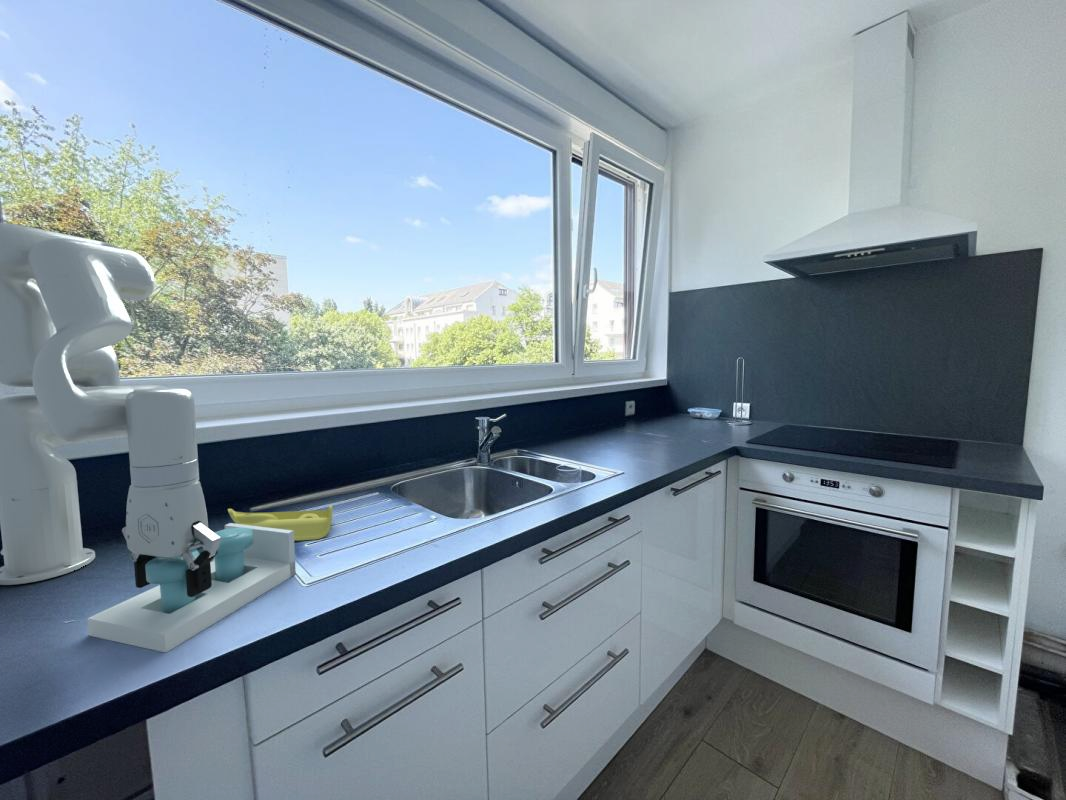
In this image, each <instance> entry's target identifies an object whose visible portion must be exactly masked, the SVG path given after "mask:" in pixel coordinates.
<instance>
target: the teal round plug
mask: <svg viewBox="0 0 1066 800" xmlns="http://www.w3.org/2000/svg"><path fill="white" fill-rule="evenodd" d="M192 554H193V556H194V557H195V559H196V558H197V557H198V556H199V552H198V550H197V551H195V552H193V553H192ZM145 569H146V581H147V582H149V583H151V584H154V585H160V594H161V607H162V613H167V614H171V613H172V612H174V611H176V610H178V609H180V608H182V607H184V606H186V605H188V604H189V603H191V602H193V601H195V600H196V596H194V597H188V596H187V585H186V570H188V569H190V568H189V567H188V565H187V564H186V562H185V561H184V559H183V558H182V556H180V557H178V558H174V559H170V558H162V557H156V558H154V559H152V560H150V561H149V562H148V563H147V564H146V565H145Z"/></svg>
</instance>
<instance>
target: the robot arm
mask: <svg viewBox="0 0 1066 800" xmlns="http://www.w3.org/2000/svg"><path fill="white" fill-rule="evenodd" d="M34 281H35V282H36V283H35V282H34ZM154 288H155V275H154V272H153V270H152V268H151V265H150V264H149V263H148V261H147V260H146V259H145V258H144V257H143V256H142V255H140V254H139V253H138V252H136V251H132V250H130V249H127V248H122V247H121V246H117V245H115V244H111V243H108V242H105V241H100V240H95V239H91V238H87V237H81V236H76V235H71V234H66V233H60V232H55V231H51V230H46V229H42V228H37V227H31V226H26V225H21V224H15V223H14V224H13V223H7V222H0V384H1V385H5V386H8V387H16V388H33V391H34V394H24V395H13V396H8V397H3V398H0V532H1V533H0V534H1V542H2V548H1V550H0V555H1V556H3V562H4V565H2V566H0V586H12V585H13V586H15V585H23V584H29V583H36V582H40V581H45V580H49V579H52V578H57V577H59V576H63V575H66V574H69V573H72V572H74V570H75V571H77V570H79V569H82V568H83V566H84V567H86V566H87V565H89V564H90V563H92V562H93V561H94V560H95V559H96V551H95V550H94V549H92V548H87V547H86V548H85V547H83V536H82V535H83V534H82V524H81V513H80V502H79V493H78V492H79V491H78V479H77V472H76V468H75V467H74V464H72V463H71V462H70V461H69V459H67V458H66V457H64V456H62V455H61V454H59V453H58V452H57V451H56V450H55V448H57V447H63V446H68V445H75V444H77V445H78V444H83V443H85V444H86V443H91V442H98V441H105V440H109V439H115V438H124V437H127V444H128V446H127V447H128V457H129V471H130V472H129V473H130V483H131V484H130V485H129V488H128V494H127V500H126V513H125V514H126V516H125V526H124V527H123V528H122V529H121V532H122V534H123V536H124V539H125V541H126V544H125V546H126V548H127V549H128V550H129V551H130V553H131V554H130V560H131V561H132V562H133V568H134V580H135V581H134V582H135V587H136V588H138V589H141V588H144V587H146V586H148V585H151V584H152V583H149V582H147V581H146V569H145V565H146V564H147V563H148V562H149V561H150V560H152V559H154V558H156V557H162V558H170V559H174V558H178V557H180V556H182V558H183V559H184V561H185V562H186V564H187V565H188V567H189V568H190V569H188V570H186V585H187V596H188V597H194V596H196V595H198V594H199V593H201V592H203V591H205V590H207V589H209V588H210V587H211V586H212V581H211V565H210V563H211V562H213V560H215V556H216V555H217V553H218V548H219V545H220V543H221V538H220V537H219V536H218V535H217V534H215V533H214V532H215V531H212V530H211V529H210V528H209V522H208V512H207V507H206V501H205V500H206V499H205V495H204V492H203V487H202V483H201V481H200V469H199V456H198V455H199V454H198V453H199V452H198V440H197V439H198V438H197V423H196V409H195V408H196V407H195V398H194V395H193V393H192V392H191V391H190V390H188V389H185V388H181V387H180V388H179V387H166V386H162V385H159V384H158V385H157V384H139V385H138V384H135V385H134V384H133V385H132V384H131V385H124V384H122V385H121V377H120V366H119V360H118V356H117V353H116V351H115V349H114V347H113V345H115V344H118V343H119V342H121V341H123V340H125V339H126V338H127V337H128V336H129V335H130V334H131V332H132V330H133V322H132V320H131V318H130V316H129V313H128V311H127V309H126V306H125V304H124V302H123V300H126V301H133V302H137V301H138V302H140V301H143V300H146V299H148V298H149V297H150V296H151V295H152V293H153V291H154ZM77 386H78V387H77ZM197 550H198V552H199V556H198V557H197V558H196V559H195V557H194V556H193V554H192V553H193V552H195V551H197ZM85 565H86V566H85ZM81 567H82V568H81Z"/></svg>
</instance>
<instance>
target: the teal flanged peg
mask: <svg viewBox="0 0 1066 800" xmlns="http://www.w3.org/2000/svg"><path fill="white" fill-rule="evenodd" d="M213 532H214V533H215V534H217V535H218V536H219V537H220V538H221V543H220V545H219V548H218V553H217V555H216V556H215V557H214V560H215V573H216V581H220V582H226V583H229V582H231V581H233V580H235V579H237V578H239V577H240V576H242V575H244V574H245V568H244V549H246V548H248V547H250V546H251V545H252V544H253V534H252V529H250V528H243V527H240V528H230V529H225V528H224V529H220V530H218V531H213Z"/></svg>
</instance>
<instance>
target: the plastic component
mask: <svg viewBox="0 0 1066 800" xmlns="http://www.w3.org/2000/svg"><path fill="white" fill-rule="evenodd" d="M333 511H334V507H333V505H332V504H329V506H328V509H318V510H317V509H316V510H298V511H295V510H292V511H272V512H270V511H269V512H243V511H235V510H234V509H233V508H227V512H228V514H229V516H230V518H231V520H232V521H233V522H234V524H243V525H251V526H259V527H268V528H276V529H284V530H293V531H294V542H298V541H299V542H300V541H311V540H313V541H315V540H319V539H323V538H324V537H326V536H327V535H329V532H330V531H331V527H332V522H333Z"/></svg>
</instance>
